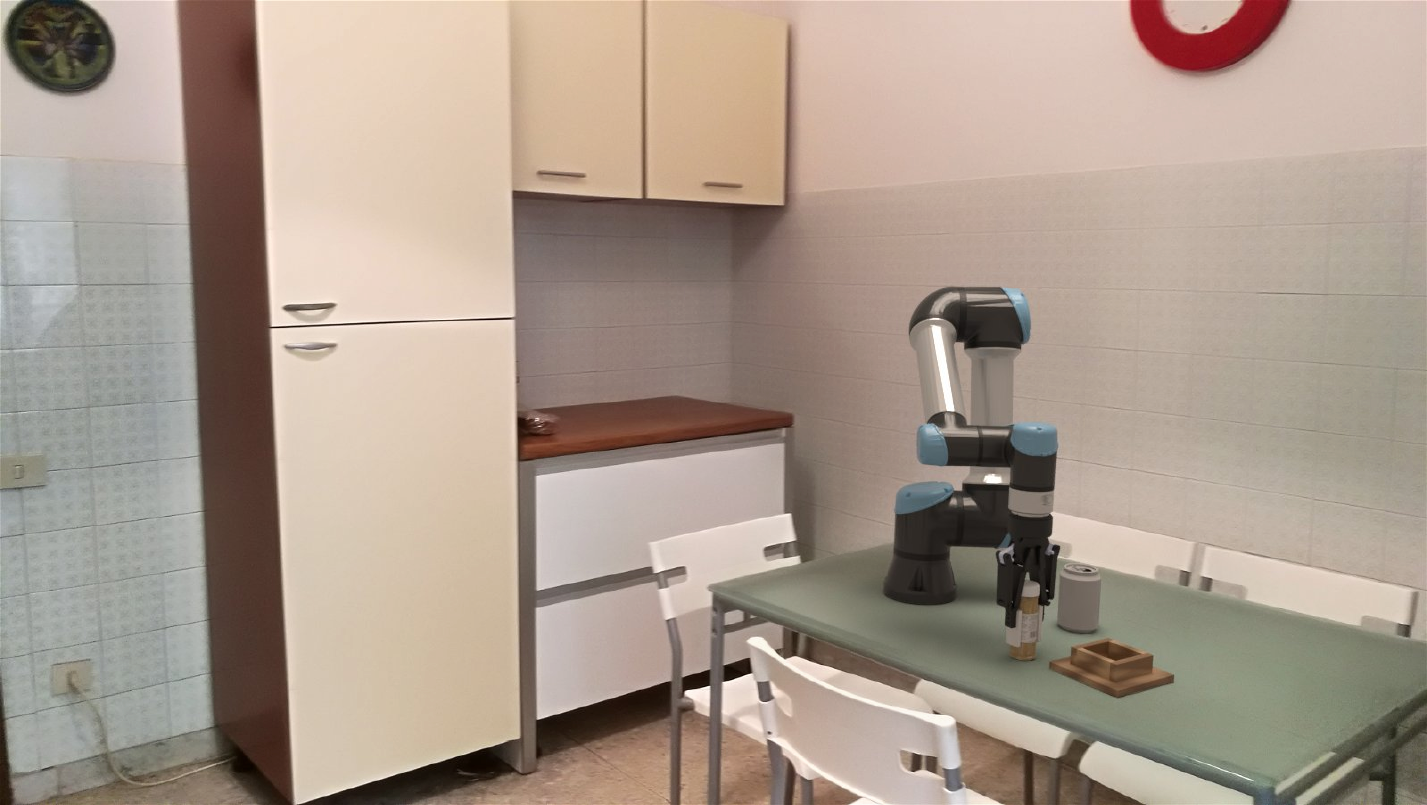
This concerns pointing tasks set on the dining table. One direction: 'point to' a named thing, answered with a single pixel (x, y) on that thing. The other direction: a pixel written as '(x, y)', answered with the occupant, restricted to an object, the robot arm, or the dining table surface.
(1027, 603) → the sprinkles bottle
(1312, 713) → the dining table surface
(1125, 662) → the holder
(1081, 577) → the can
